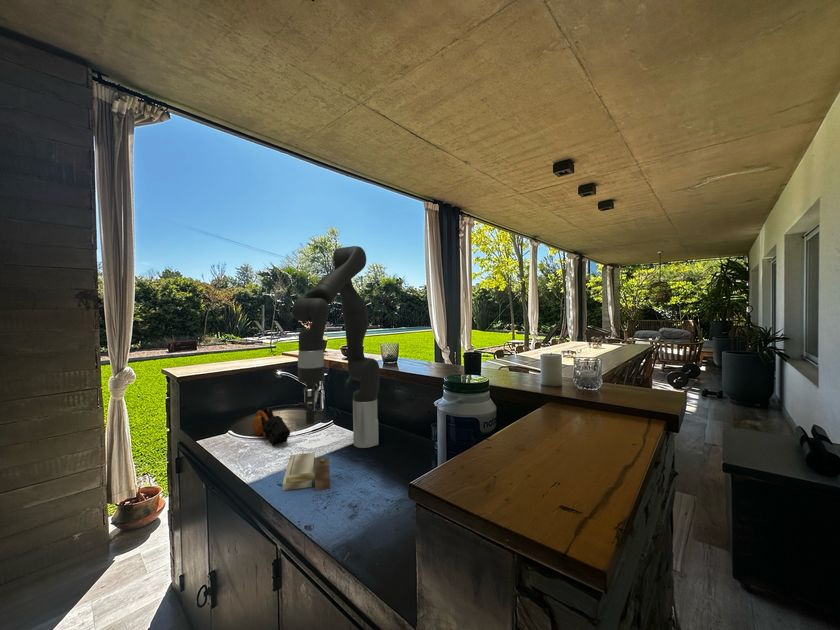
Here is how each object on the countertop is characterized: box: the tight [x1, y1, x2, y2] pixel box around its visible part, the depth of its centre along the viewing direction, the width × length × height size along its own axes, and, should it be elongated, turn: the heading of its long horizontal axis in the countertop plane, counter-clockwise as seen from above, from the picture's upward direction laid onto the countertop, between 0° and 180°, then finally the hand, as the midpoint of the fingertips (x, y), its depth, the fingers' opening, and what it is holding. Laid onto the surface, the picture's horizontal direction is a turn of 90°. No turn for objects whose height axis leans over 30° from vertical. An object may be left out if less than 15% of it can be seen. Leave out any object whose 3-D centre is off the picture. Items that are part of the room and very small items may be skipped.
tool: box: [251, 406, 291, 447], centre depth 137 cm, size 8×23×15 cm, turn 46°
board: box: [282, 451, 316, 492], centre depth 109 cm, size 8×20×2 cm, turn 15°
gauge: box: [286, 457, 330, 492], centre depth 100 cm, size 12×5×8 cm, turn 105°
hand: (311, 419), depth 102 cm, fingers open, 8 cm apart
